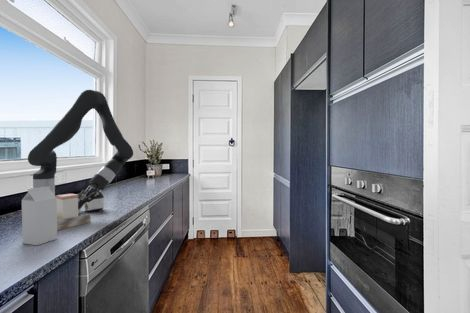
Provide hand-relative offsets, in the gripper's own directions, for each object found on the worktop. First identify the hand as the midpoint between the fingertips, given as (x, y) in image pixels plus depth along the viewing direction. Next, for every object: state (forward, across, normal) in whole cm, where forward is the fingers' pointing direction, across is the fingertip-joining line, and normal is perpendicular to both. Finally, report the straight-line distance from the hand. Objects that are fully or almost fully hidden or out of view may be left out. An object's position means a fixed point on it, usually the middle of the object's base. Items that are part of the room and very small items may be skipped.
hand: (76, 208), depth 111 cm
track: (+7, 0, +2) cm, 8 cm away
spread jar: (-5, -17, +15) cm, 23 cm away
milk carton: (+18, +14, -8) cm, 24 cm away
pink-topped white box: (+6, 0, +1) cm, 6 cm away
